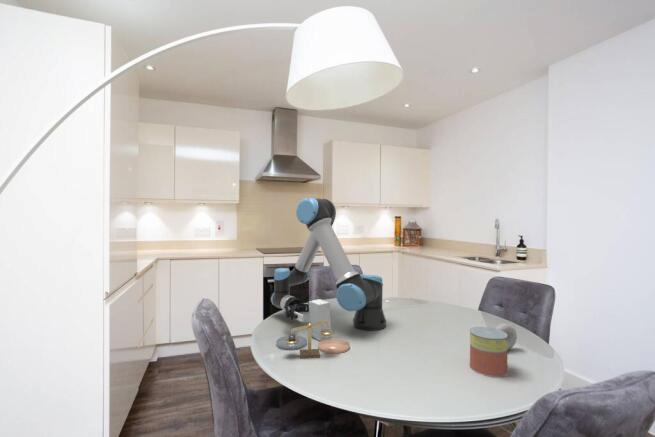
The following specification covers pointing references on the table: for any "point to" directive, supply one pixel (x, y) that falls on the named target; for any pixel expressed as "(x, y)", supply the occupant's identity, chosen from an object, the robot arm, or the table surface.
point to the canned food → (488, 351)
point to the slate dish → (282, 345)
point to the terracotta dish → (333, 346)
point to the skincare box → (319, 317)
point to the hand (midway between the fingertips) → (316, 315)
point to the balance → (308, 352)
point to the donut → (511, 334)
